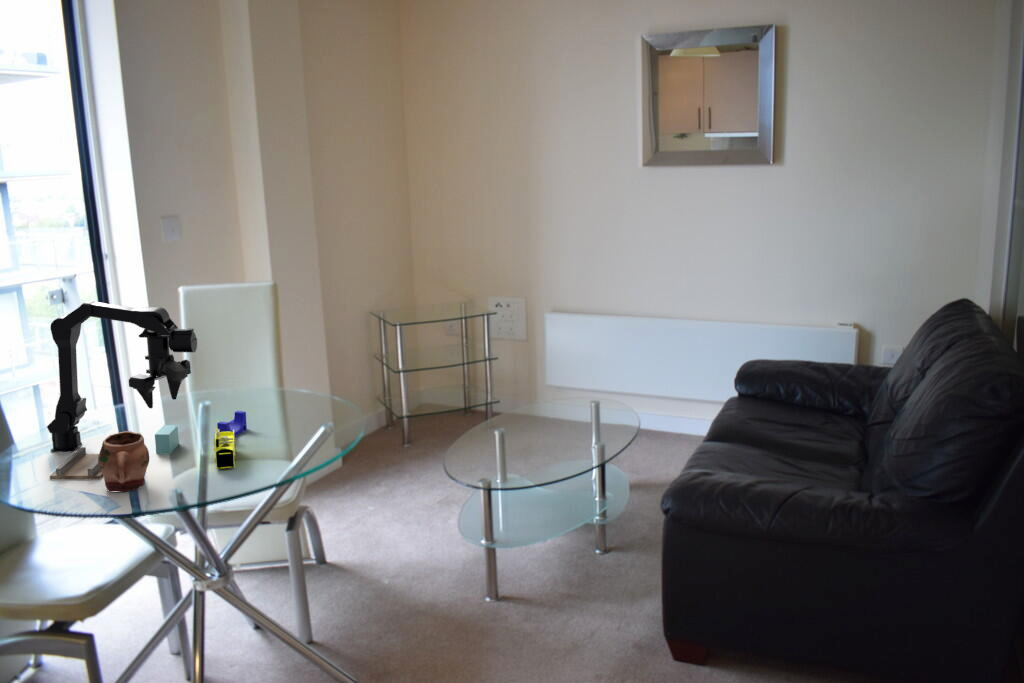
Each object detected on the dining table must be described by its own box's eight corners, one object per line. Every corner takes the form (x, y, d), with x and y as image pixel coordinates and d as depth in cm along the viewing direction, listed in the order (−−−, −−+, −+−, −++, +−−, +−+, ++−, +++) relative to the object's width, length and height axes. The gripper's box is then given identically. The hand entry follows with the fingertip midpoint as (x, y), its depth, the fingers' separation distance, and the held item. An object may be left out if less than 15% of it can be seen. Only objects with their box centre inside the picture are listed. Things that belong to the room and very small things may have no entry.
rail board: (49, 479, 232) (48, 468, 232) (75, 457, 248) (74, 447, 247) (99, 479, 233) (98, 468, 232) (122, 457, 249) (121, 447, 248)
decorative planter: (154, 499, 222) (149, 448, 218) (101, 507, 217) (96, 454, 213) (149, 471, 239) (145, 423, 236) (100, 477, 234) (95, 429, 231)
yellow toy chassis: (216, 451, 255) (214, 424, 253) (236, 450, 257) (234, 423, 255) (214, 472, 240) (212, 443, 238) (236, 470, 242) (234, 442, 240)
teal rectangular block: (156, 453, 252) (154, 434, 251) (165, 444, 260) (163, 425, 258) (170, 453, 252) (168, 434, 251) (178, 444, 260) (177, 425, 259)
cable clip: (233, 428, 275) (232, 410, 273) (246, 429, 274) (245, 411, 273) (213, 441, 263) (212, 422, 262) (227, 442, 263) (226, 423, 261)
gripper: (156, 363, 238) (160, 417, 241) (203, 348, 254) (207, 398, 258) (125, 358, 242) (129, 411, 245) (174, 343, 259) (177, 393, 262)
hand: (162, 403), depth 253 cm, fingers open, 9 cm apart
